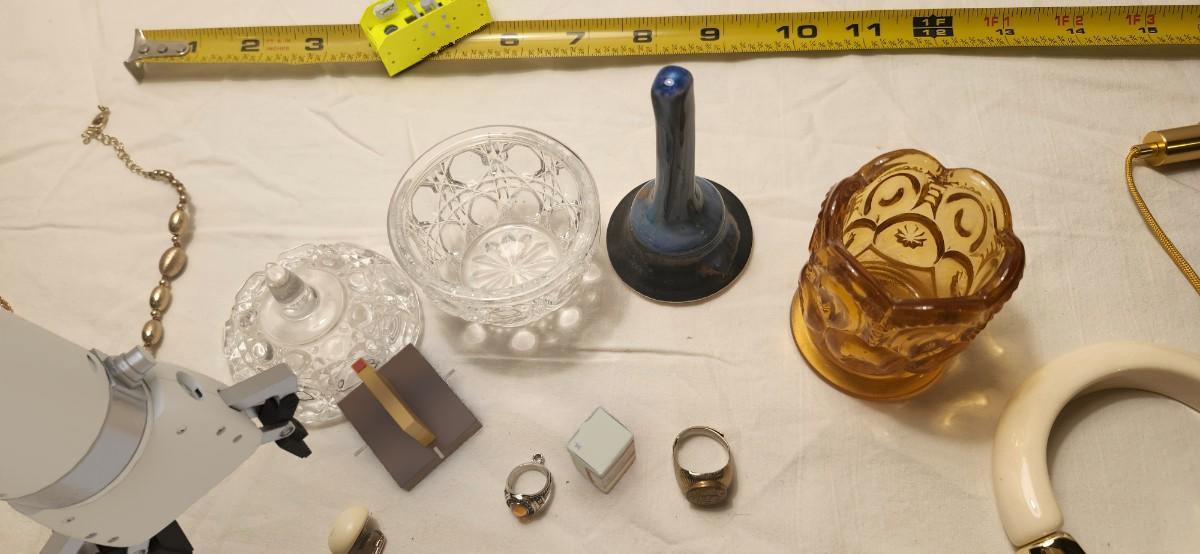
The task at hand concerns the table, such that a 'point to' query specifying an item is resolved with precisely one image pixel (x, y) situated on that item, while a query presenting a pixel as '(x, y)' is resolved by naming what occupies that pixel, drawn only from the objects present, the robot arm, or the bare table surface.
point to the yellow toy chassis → (419, 27)
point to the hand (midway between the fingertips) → (240, 488)
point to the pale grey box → (602, 449)
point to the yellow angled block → (393, 402)
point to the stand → (428, 402)
